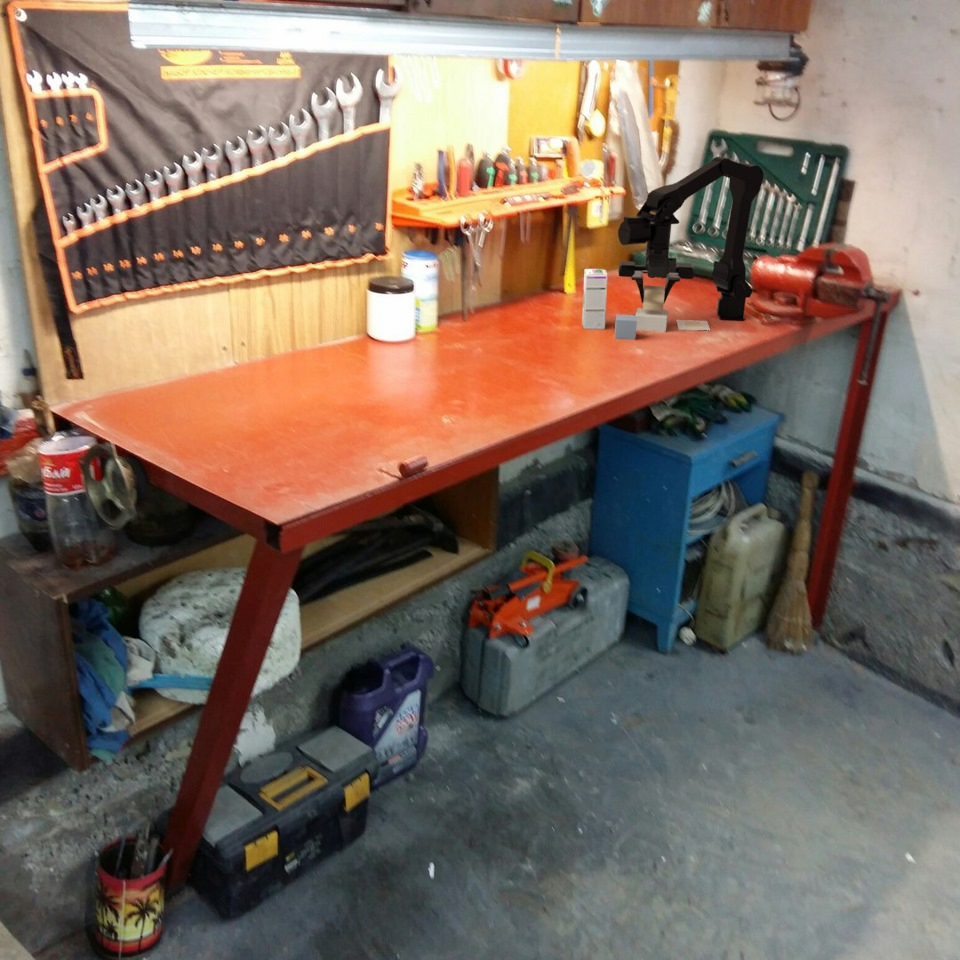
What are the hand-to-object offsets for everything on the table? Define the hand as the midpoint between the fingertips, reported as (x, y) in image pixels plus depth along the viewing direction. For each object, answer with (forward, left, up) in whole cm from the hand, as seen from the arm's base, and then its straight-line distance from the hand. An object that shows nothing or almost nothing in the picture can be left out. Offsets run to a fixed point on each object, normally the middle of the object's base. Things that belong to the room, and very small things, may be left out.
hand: (652, 303), depth 254 cm
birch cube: (0, 0, -1) cm, 1 cm away
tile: (-11, -2, -6) cm, 13 cm away
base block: (0, 0, -6) cm, 6 cm away
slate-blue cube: (+7, +10, -6) cm, 14 cm away
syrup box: (+15, +2, -6) cm, 16 cm away
